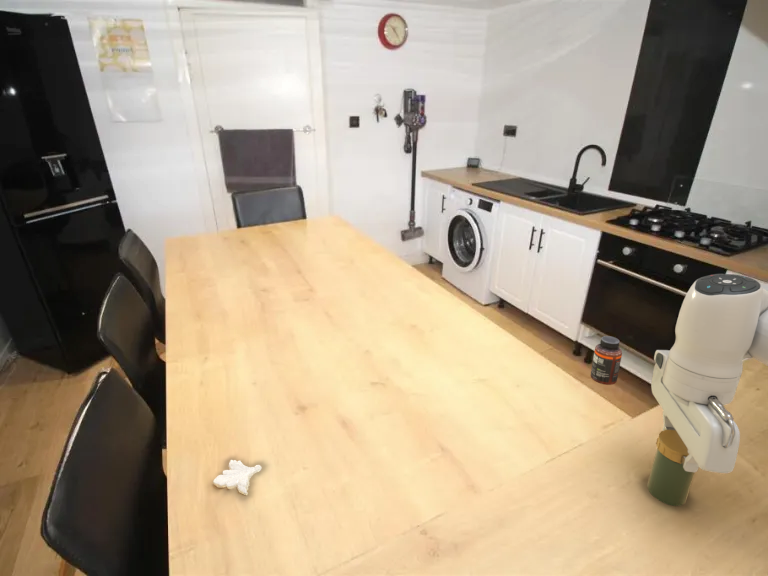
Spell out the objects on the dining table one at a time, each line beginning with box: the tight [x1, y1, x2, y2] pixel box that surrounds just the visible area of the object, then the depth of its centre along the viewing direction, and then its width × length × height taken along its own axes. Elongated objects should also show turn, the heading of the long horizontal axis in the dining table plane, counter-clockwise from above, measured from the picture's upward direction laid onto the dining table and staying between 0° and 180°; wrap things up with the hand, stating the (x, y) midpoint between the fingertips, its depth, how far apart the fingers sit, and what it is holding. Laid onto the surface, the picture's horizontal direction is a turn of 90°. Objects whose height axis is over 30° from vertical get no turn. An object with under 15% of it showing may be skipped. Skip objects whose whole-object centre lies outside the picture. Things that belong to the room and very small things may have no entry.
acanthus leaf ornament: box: [212, 459, 263, 496], centre depth 75 cm, size 8×7×2 cm
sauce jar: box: [646, 447, 696, 507], centre depth 68 cm, size 6×6×11 cm
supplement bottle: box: [590, 335, 623, 386], centre depth 101 cm, size 6×6×11 cm
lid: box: [655, 430, 689, 464], centre depth 67 cm, size 6×6×2 cm
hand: (678, 451), depth 67 cm, fingers closed on lid, 6 cm apart
